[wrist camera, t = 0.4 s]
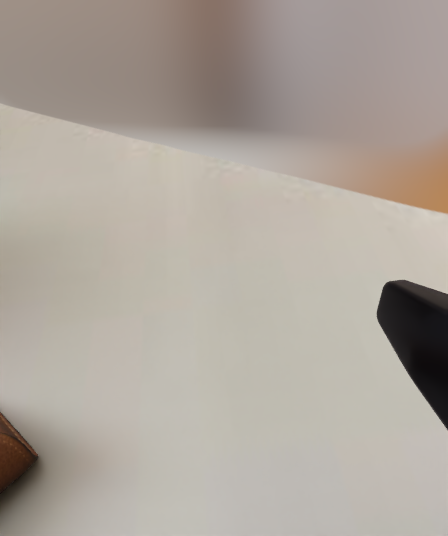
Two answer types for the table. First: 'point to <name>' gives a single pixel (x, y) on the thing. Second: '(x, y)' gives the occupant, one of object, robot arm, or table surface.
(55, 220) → the table surface
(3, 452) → the sunglasses case
